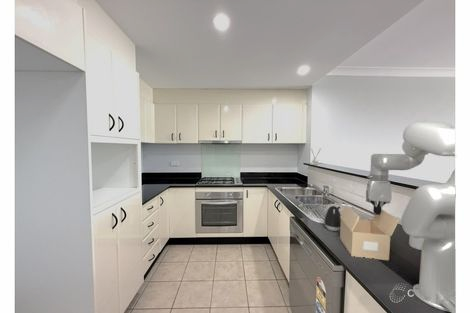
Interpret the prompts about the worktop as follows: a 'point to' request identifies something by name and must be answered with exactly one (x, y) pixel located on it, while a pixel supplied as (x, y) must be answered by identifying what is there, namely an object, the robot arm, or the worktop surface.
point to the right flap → (386, 222)
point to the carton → (366, 240)
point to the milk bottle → (416, 242)
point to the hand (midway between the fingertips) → (377, 213)
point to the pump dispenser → (333, 219)
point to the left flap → (349, 218)
